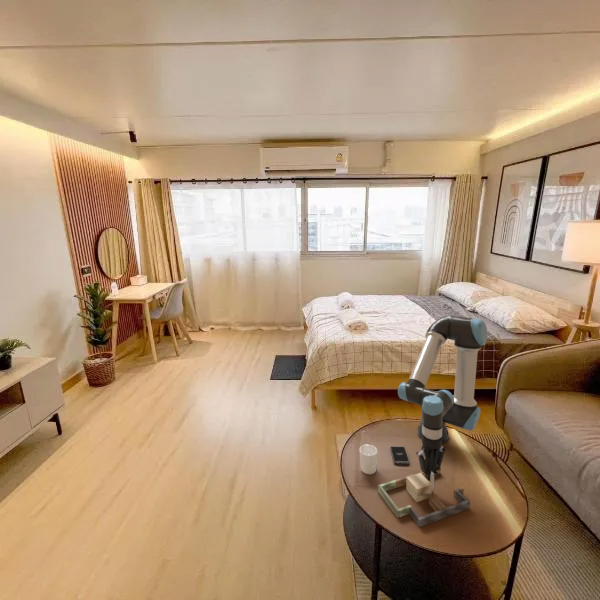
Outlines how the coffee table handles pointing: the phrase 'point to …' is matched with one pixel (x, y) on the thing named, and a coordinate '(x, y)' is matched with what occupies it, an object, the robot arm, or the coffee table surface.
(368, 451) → the white cup
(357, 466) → the coffee table surface
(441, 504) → the channel
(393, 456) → the external hard drive
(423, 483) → the block
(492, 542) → the coffee table surface
